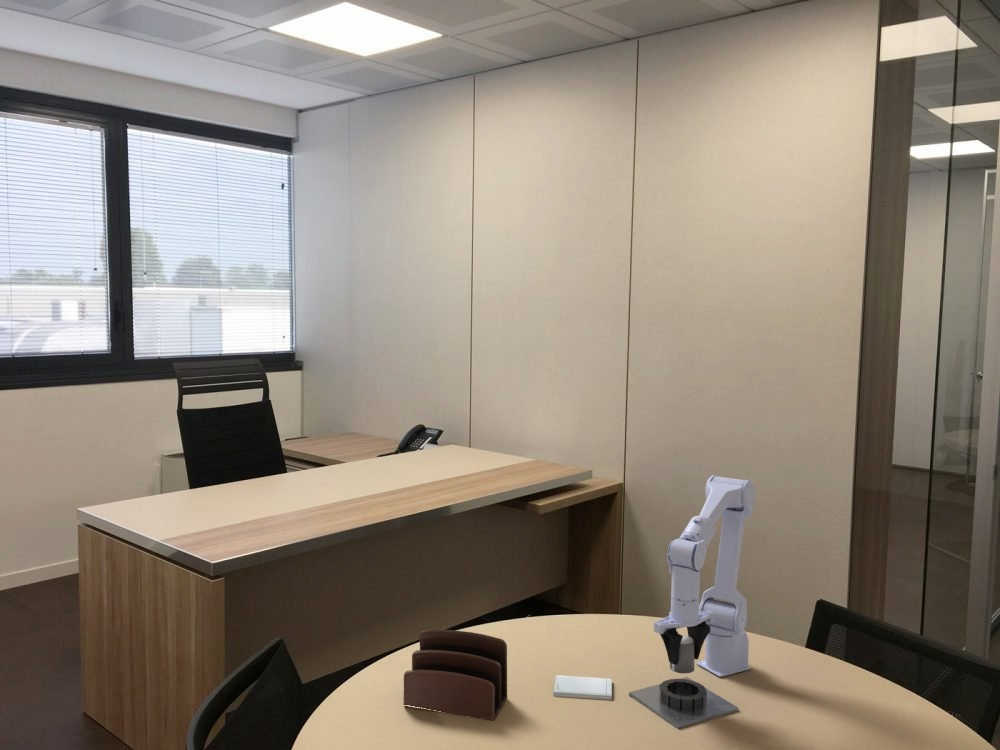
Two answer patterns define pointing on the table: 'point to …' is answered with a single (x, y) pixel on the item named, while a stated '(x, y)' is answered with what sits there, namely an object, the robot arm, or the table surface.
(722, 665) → the robot arm
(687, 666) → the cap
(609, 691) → the hard drive
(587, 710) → the table surface
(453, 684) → the letter holder
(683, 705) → the flat grey square plate
